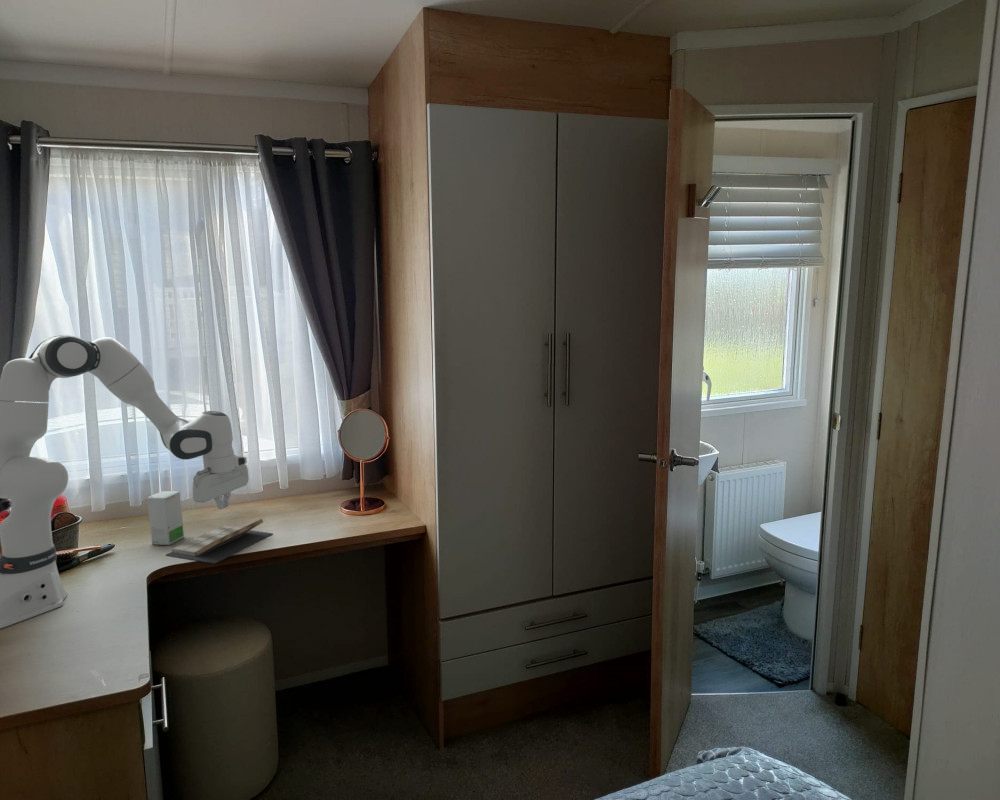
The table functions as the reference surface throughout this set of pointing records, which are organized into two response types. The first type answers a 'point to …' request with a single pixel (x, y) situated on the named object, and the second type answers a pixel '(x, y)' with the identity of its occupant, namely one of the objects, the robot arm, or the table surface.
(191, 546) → the laid floor
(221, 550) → the underlay
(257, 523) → the plank
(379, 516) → the table surface
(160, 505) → the skincare box
